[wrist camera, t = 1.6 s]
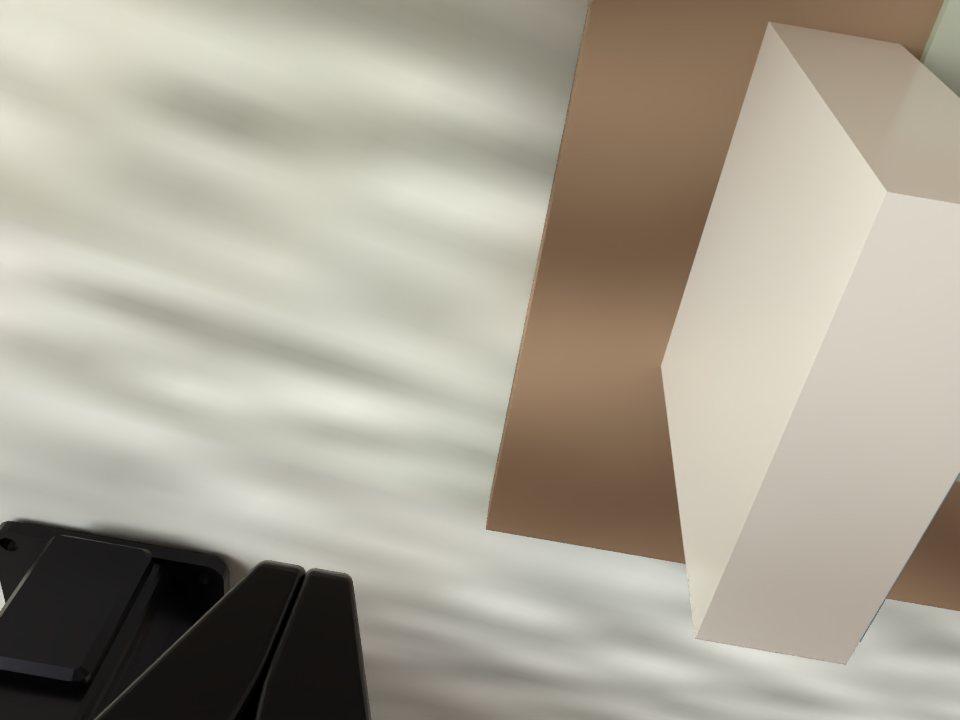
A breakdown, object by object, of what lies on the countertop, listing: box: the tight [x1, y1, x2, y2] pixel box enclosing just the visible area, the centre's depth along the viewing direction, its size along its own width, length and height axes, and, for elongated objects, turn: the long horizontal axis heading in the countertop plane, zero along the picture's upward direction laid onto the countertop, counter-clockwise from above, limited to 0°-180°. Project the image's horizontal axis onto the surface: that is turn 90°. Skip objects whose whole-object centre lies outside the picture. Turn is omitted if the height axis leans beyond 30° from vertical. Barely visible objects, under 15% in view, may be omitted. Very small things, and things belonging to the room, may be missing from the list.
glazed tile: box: [661, 21, 960, 665], centre depth 14 cm, size 7×2×7 cm, turn 172°
